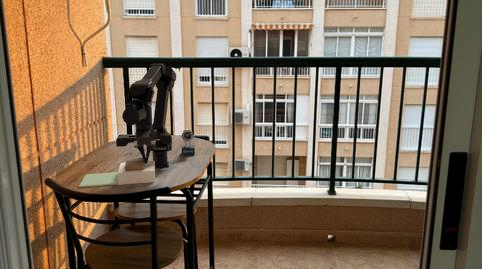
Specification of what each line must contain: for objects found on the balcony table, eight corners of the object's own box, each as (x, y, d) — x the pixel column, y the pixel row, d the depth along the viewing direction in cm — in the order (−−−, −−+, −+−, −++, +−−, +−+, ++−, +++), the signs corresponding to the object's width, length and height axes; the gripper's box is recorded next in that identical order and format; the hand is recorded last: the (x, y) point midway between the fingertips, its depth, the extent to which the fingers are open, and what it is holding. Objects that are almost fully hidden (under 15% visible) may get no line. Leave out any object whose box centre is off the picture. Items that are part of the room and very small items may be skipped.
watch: (181, 156, 169) (180, 131, 167) (182, 151, 177) (181, 127, 175) (194, 156, 170) (194, 130, 168) (195, 151, 178) (194, 127, 175)
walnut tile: (127, 163, 145) (127, 158, 145) (144, 162, 146) (144, 157, 146) (125, 171, 136) (125, 165, 136) (143, 169, 138) (143, 164, 137)
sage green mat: (86, 175, 145) (85, 174, 145) (121, 173, 147) (121, 171, 147) (79, 187, 133) (79, 186, 132) (118, 184, 135) (118, 183, 135)
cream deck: (121, 173, 147) (121, 162, 147) (155, 170, 150) (154, 160, 149) (118, 184, 135) (117, 173, 134) (154, 182, 137) (154, 170, 136)
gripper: (112, 125, 129) (116, 171, 132) (171, 122, 133) (173, 167, 136) (116, 119, 140) (119, 162, 143) (170, 117, 143) (172, 159, 147)
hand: (146, 163), depth 142 cm, fingers closed
